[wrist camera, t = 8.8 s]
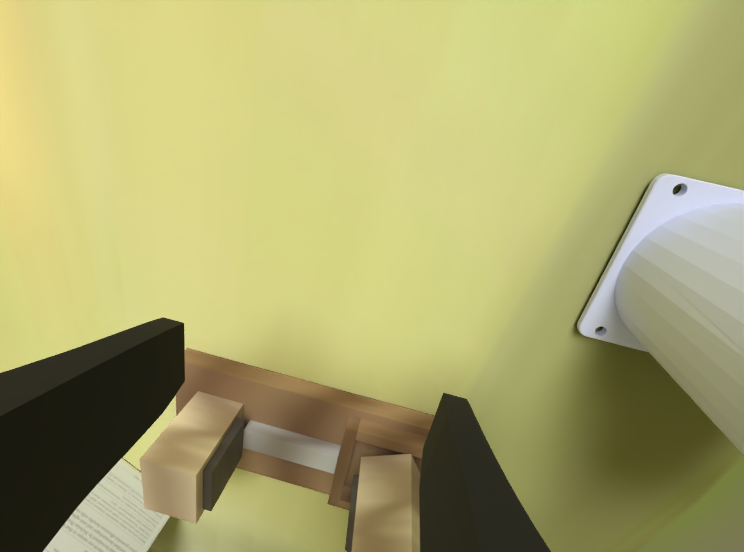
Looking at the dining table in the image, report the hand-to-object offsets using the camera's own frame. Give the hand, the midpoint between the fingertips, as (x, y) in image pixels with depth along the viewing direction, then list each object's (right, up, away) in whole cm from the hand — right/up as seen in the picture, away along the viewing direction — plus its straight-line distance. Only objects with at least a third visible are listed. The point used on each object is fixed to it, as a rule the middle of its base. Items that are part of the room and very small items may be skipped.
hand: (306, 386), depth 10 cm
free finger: (+3, -9, +12) cm, 16 cm away
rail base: (-2, -7, +14) cm, 16 cm away
